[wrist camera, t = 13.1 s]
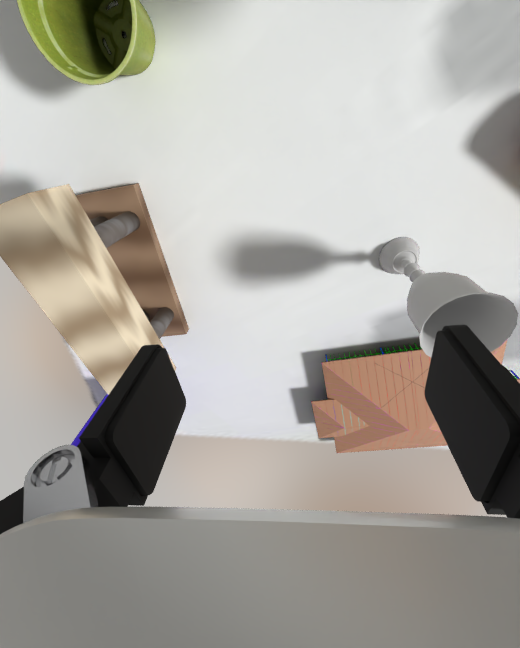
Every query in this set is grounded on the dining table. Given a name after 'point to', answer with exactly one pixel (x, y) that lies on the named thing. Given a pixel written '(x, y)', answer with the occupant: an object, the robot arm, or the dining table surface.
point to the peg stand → (136, 253)
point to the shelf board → (74, 280)
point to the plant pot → (91, 37)
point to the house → (379, 402)
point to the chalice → (448, 300)
